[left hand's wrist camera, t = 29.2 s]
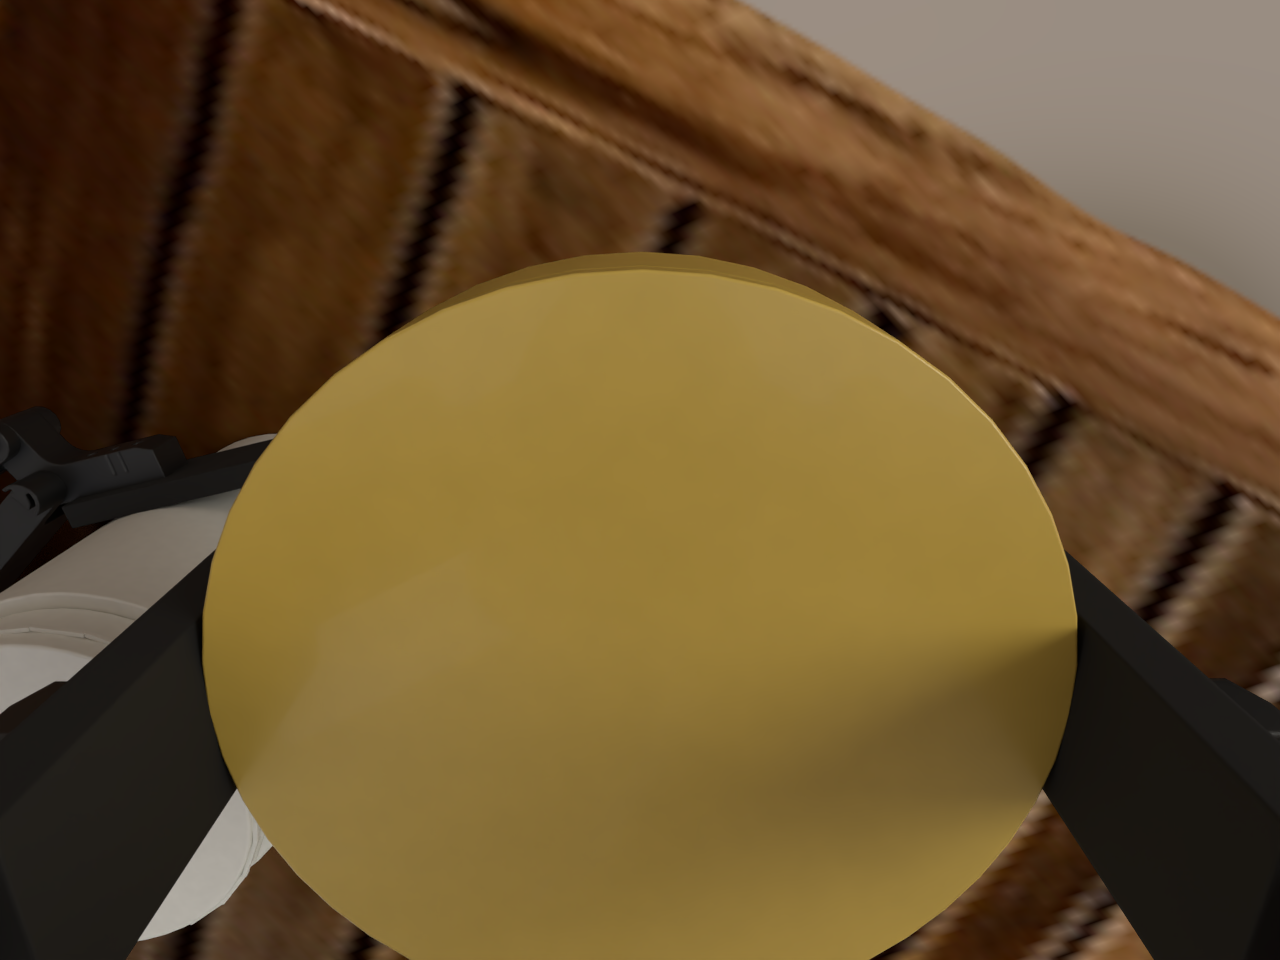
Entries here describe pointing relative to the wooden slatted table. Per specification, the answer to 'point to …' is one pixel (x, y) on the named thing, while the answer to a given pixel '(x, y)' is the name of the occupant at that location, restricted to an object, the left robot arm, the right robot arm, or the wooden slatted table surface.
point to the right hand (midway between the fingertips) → (338, 602)
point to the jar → (91, 619)
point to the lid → (639, 626)
